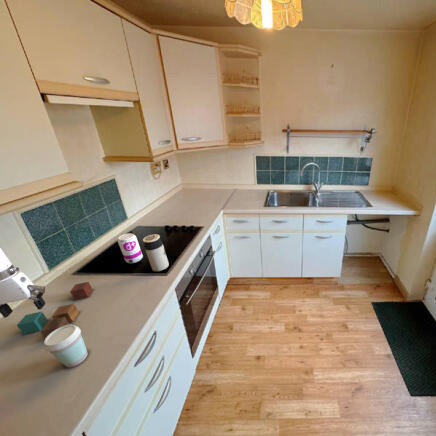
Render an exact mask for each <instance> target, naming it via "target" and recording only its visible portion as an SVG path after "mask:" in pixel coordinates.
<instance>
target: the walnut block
mask: <svg viewBox="0 0 436 436" xmlns="http://www.w3.org/2000/svg"><path fill="white" fill-rule="evenodd" d="M65 325H71V323H68V321H67V319H66V318H65V317H62V318H58V319H53V318H52V319H50V320H49V319H48V321H47V322H46V324H45V325H44V326H43V328H42V329H41V330H40V333H41V335H42V336H43V337H44V340H45V339H46V337H47V336H48V335H49V334H50V333H52V332H53V331H54V330H56V329H58V328H60V327H62V326H65Z"/></svg>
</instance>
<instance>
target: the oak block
mask: <svg viewBox="0 0 436 436" xmlns="http://www.w3.org/2000/svg"><path fill="white" fill-rule="evenodd" d="M79 312H80V311H79V310H78V308H77V307H76V305H75V303H70V304H66V305H61V306H58V307H57V308H56V310H55V311H54V313H53V314H52V315H51V318H52V320H53V319H58V318H62V317H65V318H66V319H67V321H68V323H69V324H71V323H74V322H75V320H76V318H77V316H78V315H79V314H80V313H79Z"/></svg>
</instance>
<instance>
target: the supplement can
mask: <svg viewBox="0 0 436 436" xmlns="http://www.w3.org/2000/svg"><path fill="white" fill-rule="evenodd" d="M117 243H118V246H119V248H120V251H121V254H122V255H123V259H124V261H125V262H126V263H128V264H135V263H138V262H140V261H141V260H143V257H144V255H143V253H142V249H141V247H140V244H139V241H138V238H137V236H136V235H135V234H134V233H132V232H131V233H129V232H128V233H124V234H121V235H120V236H118V238H117Z"/></svg>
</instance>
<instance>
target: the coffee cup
mask: <svg viewBox="0 0 436 436" xmlns="http://www.w3.org/2000/svg"><path fill="white" fill-rule="evenodd" d="M43 348H44V351H46V352H49V353H50V354H51V355H52V356H53V357H55V358H56V359H57V360H58V361H59V362H60V363H61V364H62V365H64V366H65V367H66V368H73V367H76V366H78V365H80V364H81V363H82V362H84V360H85V359H87V357H88V355H89V354H88V350H87V346H86V343H85V342H84V339H83V336H82V330H81V328H80V327H79V326H77V325H75V324H70V325H65V326H62V327H60V328H58V329H56V330H54V331H53V332H52V333H50V334H49V335H48V336H47V337H46V339H45V338H44V341H43Z"/></svg>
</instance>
